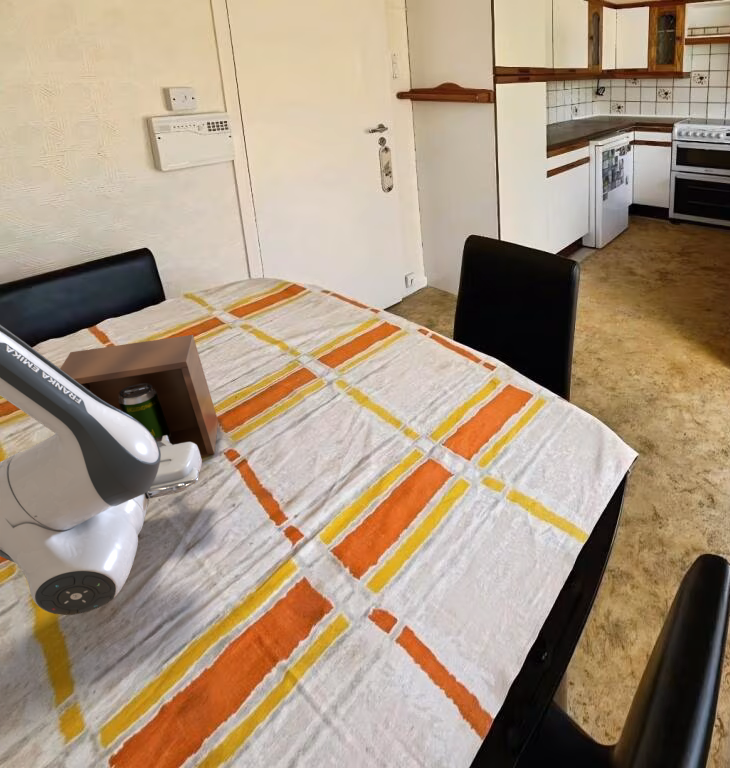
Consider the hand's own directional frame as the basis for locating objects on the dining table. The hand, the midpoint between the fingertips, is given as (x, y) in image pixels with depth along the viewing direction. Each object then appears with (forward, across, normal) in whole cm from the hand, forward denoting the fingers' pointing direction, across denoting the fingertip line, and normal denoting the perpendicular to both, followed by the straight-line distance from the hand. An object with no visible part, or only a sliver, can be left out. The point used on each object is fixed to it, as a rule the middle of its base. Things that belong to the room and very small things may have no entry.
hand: (127, 446), depth 90 cm
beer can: (+12, 0, +9) cm, 15 cm away
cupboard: (+14, 0, +10) cm, 17 cm away
